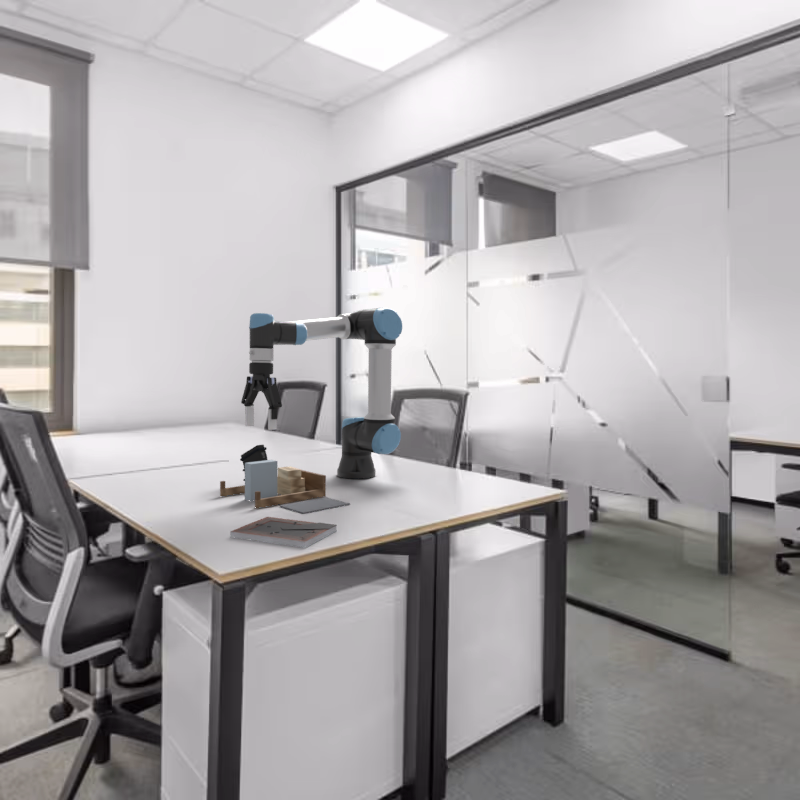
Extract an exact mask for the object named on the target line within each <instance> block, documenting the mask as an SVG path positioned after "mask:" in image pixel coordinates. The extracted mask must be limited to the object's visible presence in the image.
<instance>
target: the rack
mask: <svg viewBox="0 0 800 800" xmlns="http://www.w3.org/2000/svg"><path fill="white" fill-rule="evenodd" d="M301 478H305V491H304V492H298V493H292V494H286V495H277V496H274V497H268V498H262V499H261V492H260V491H256V492H255V501H254V508H255V507H256V508H255V509H260V508H259V507H263V508H267V507H266V506H269V507H273V506H272V505H274V506H278V504H280V505H285V504H290V503H296V501H297V502H301V500H302V501H307V499H308V500H312V498H313V499H318V498H317V497H319V498H323V496H324V497H327V496H326V489H327V488H326V486H327V485H326V484H327V476H326V475H325V474H323V473H322V474H321V473H317V472H311V471H309V470H308V471H307V470H303V469H301ZM219 491H220V492H219V496H225V497H228V496H227V495H232V496H234V495H233V494H238V495H241V494H240V493H245V484H244V485H238V486H232V487H231V486H230V487H226V481H225V480H220V481H219ZM284 503H285V504H284Z"/></svg>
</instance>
